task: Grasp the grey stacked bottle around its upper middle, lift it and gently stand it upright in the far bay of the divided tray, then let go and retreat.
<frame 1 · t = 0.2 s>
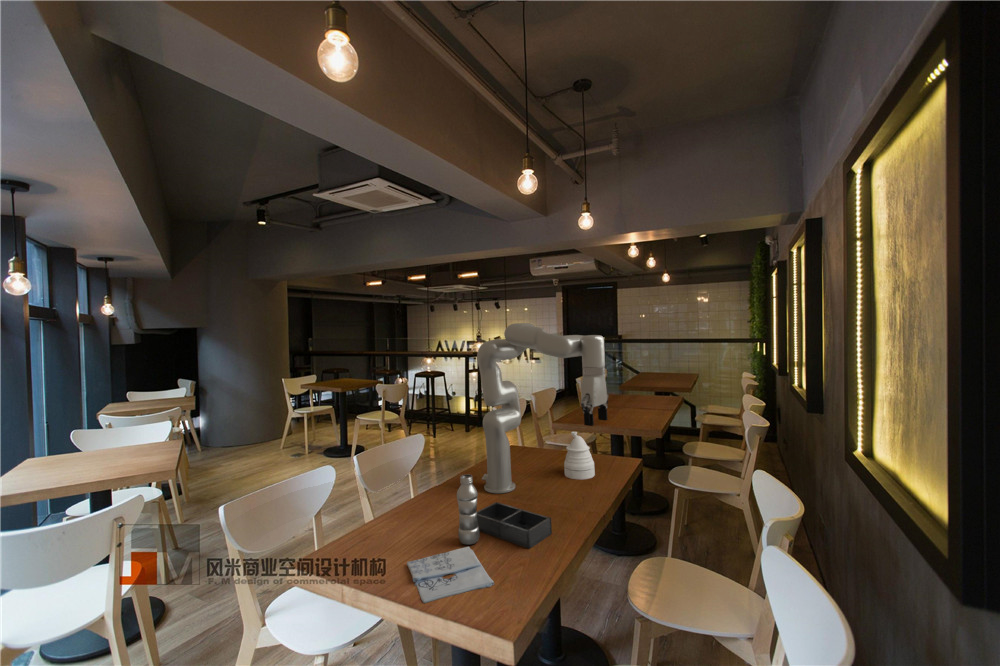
hand: (596, 422, 148), 31 cm above the table, fingers open, 9 cm apart
divided tray: (511, 531, 139), on the table
folded bicycle print cloth: (448, 577, 116), on the table
honey pot: (579, 474, 190), on the table
grey stacked bottle: (469, 543, 133), on the table
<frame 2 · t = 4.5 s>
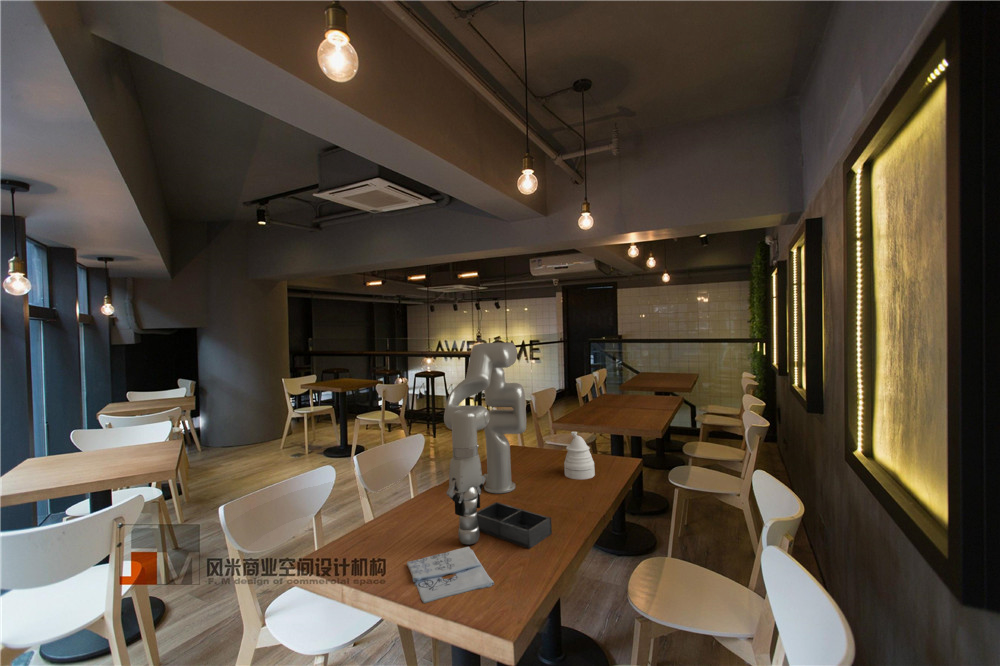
hand: (467, 510, 133), 10 cm above the table, fingers closed on grey stacked bottle, 6 cm apart
grey stacked bottle: (469, 543, 133), on the table, touching gripper
everything else where it was.
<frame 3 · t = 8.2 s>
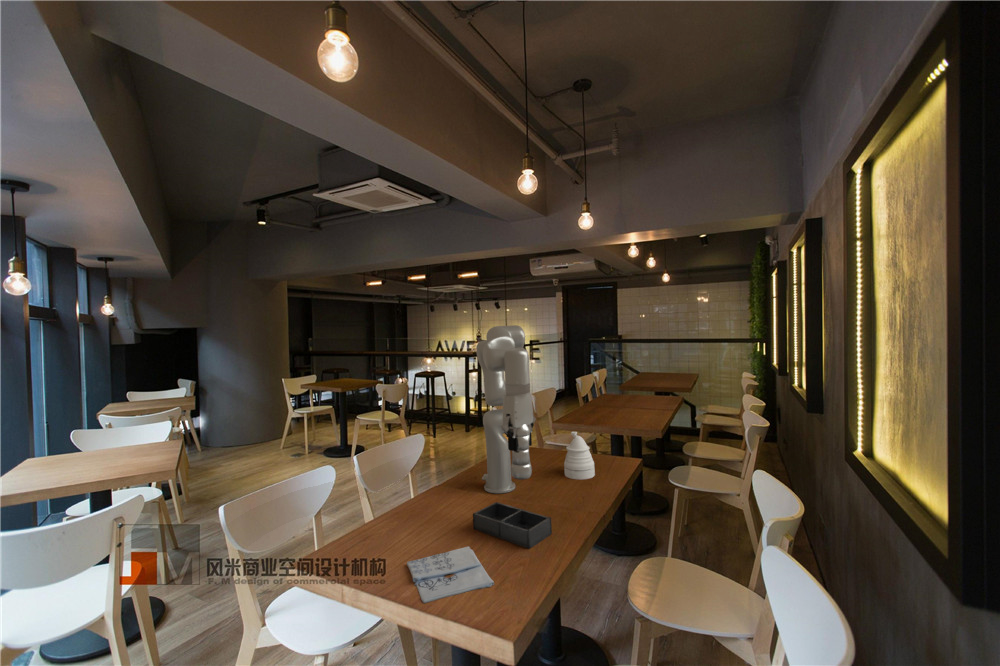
hand: (520, 447, 135), 27 cm above the table, fingers closed on grey stacked bottle, 6 cm apart
grey stacked bottle: (521, 479, 136), point 17 cm above the table, touching gripper
everything else where it was.
when the fingers open (12 cm above the table, at t = 11.7 s): grey stacked bottle drops 1 cm, resting on divided tray.
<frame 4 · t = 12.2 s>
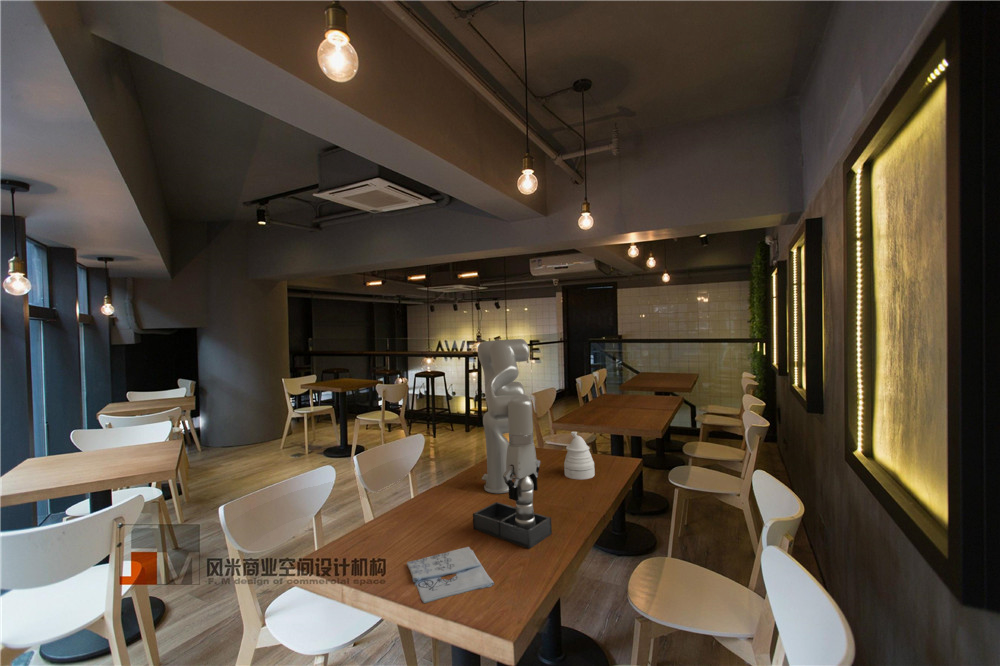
hand: (523, 494, 135), 13 cm above the table, fingers open, 9 cm apart
grey stacked bottle: (525, 532, 136), point 1 cm above the table, touching divided tray
everything else where it was.
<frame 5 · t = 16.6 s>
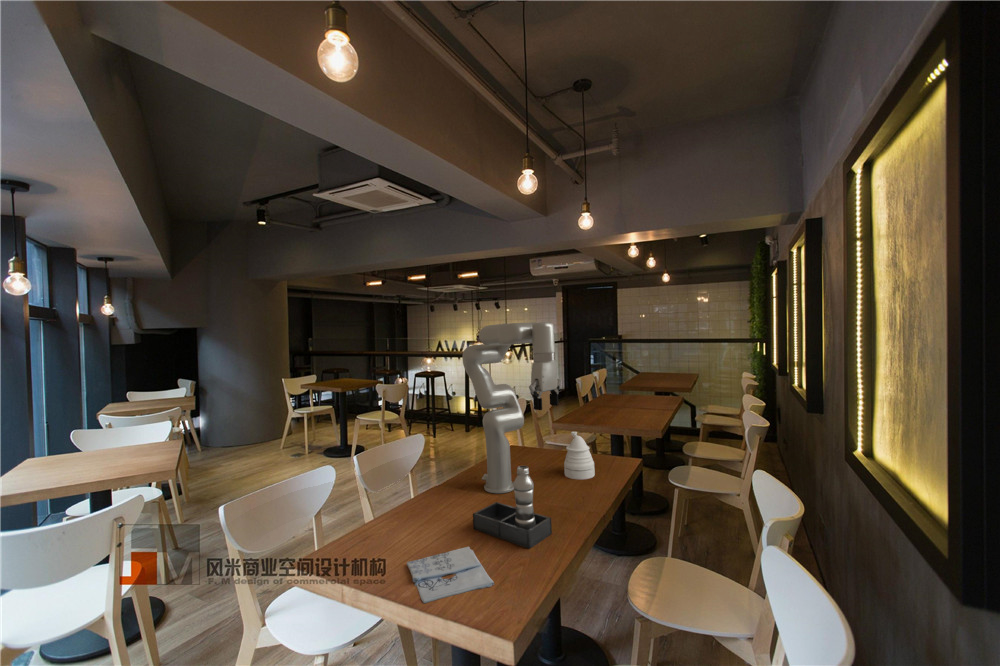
hand: (546, 407, 152), 36 cm above the table, fingers open, 9 cm apart
nothing on the table moved.
at the end: grey stacked bottle inside the target area on the divided tray (0.4 cm from its centre), point 0.8 cm above the divided tray's base; grey stacked bottle tilted 0°; the gripper is holding nothing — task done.
